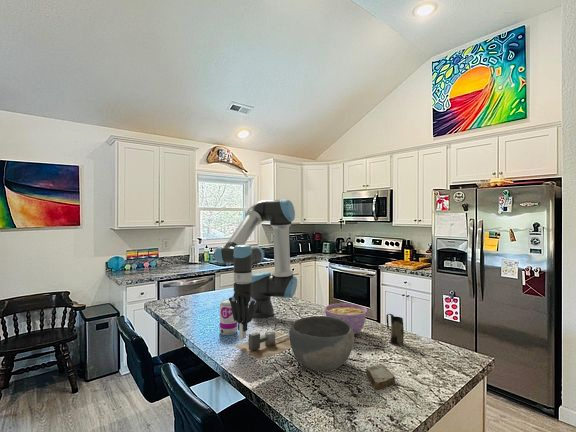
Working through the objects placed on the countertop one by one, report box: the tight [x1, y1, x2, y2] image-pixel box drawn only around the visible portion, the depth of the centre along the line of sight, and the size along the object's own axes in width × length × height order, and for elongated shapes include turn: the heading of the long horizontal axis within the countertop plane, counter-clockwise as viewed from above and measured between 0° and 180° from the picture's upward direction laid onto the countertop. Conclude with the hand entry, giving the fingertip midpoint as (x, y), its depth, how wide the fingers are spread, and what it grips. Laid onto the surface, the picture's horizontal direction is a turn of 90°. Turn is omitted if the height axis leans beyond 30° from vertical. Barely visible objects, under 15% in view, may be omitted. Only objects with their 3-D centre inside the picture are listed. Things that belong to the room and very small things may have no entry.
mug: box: [386, 313, 405, 347], centre depth 145 cm, size 8×6×12 cm
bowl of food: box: [324, 302, 368, 335], centre depth 157 cm, size 20×20×12 cm
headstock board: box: [234, 331, 292, 360], centre depth 141 cm, size 24×20×2 cm
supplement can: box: [219, 299, 238, 336], centre depth 158 cm, size 8×8×15 cm
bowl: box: [288, 315, 355, 373], centre depth 124 cm, size 24×24×15 cm
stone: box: [365, 363, 396, 392], centre depth 113 cm, size 15×8×3 cm, turn 2°
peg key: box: [248, 331, 289, 351], centre depth 140 cm, size 21×4×6 cm, turn 134°
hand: (242, 338), depth 138 cm, fingers closed
